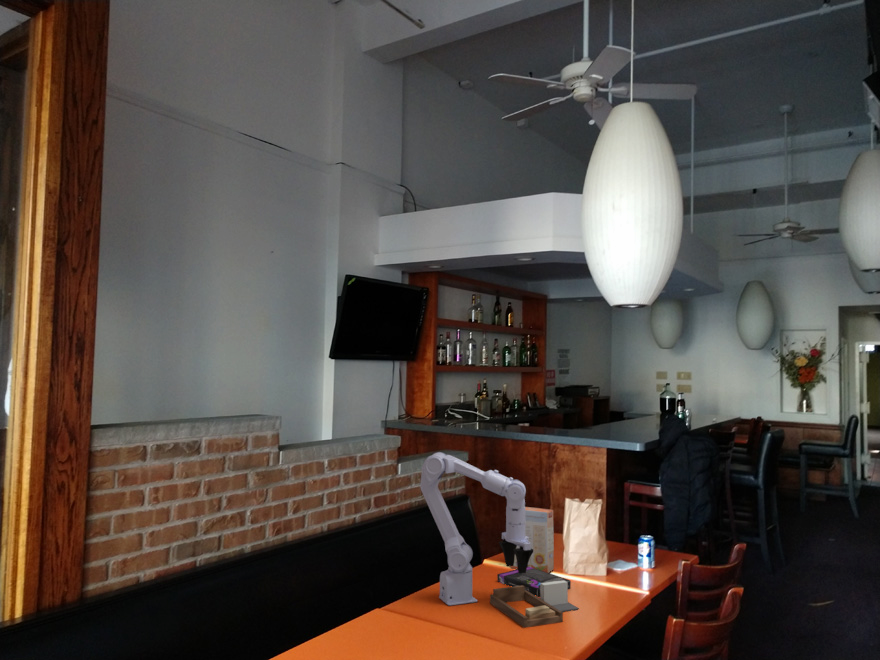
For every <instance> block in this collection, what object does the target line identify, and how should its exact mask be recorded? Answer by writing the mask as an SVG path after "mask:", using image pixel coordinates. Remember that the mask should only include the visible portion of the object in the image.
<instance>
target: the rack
mask: <svg viewBox="0 0 880 660" xmlns="http://www.w3.org/2000/svg"><path fill="white" fill-rule="evenodd" d="M492 590H493V593H492V594H489V603H490V604H491V605H492V606H493V607H495V608H496V609H498V610H499V612H502V614H504V615H506V616H507V617H508V618H510V619H511V620H513V621H514V622H515V623H516V624H518V625H520V626H521V627H522V628H529V627H537V626H544V625H545V626H546V625H551V624H557V623H562V622H564V621H563V620H564V616H563V615H564V614H563V613H564V612H561V611H560V610H558V609H556V608H555V607H553V606H551V605H550V604H548V603H546V602H545V601H543V600H541V599H540V598H541V597H538V596H535V595H533V594H532V593H530V592H528V591H527V590H525V586H523V585H522V586H514V587H510V586H508V587H500V588H499V587H498V588H493V589H492ZM519 601H525V602H527V603H529V604H530V605H532V606H533V607H538V606H544V605H545V606H547V607H549V609H551V610H553V611H555V616H550V617H543V618H537V619H530V620H527V617H526V616H525V615H524V614H523V613H521V612H520V611H519V610H517V609H516V608H514V607H512V605H510V604H508V603H511V602H519Z"/></svg>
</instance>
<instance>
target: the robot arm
mask: <svg viewBox="0 0 880 660" xmlns="http://www.w3.org/2000/svg"><path fill="white" fill-rule="evenodd" d="M420 469H421V476H420V484H419V487H420V491H421V494H422V495H423V497H424V501H425V502H426V504H427V506H428V509H429V510H430V513H431V515H432V517H433V519H434V522H435V524H436V526H437V529H438V530H439V533H440V535H441V537H442V540H443V542H444V547H445V552H446V555H447V565H448V567H447V568H448V569H447V570H444V571H441V572H440V575H439V596H438V598H439V599H440V600H441V601H442V602H443V603H445V604H446V605H447V606H457V605H464V604H472V603H477V602H478V599H476V598H475V597H473V566H472V565H471V563H470V562H471V561H472V559H473V557H474V556H473V554H474V552H473V549H472V547H471V546H470V545H469V544H467V543H466V541H465V539H464V537H463V536H462V535H461V534H460V532H459V530H458V528H457V525H456V523H455V522H454V520H453V517H452V515H451V512H450V510H449V508H448V506H447V504H446V502H445V500H444V497H443V495H442V493H441V491H440V489H439V484H440V481H441V479H442V477H443V475H444V474H452V473H458V474H460V475H462V476H466V477H468V478H470V479H472V480H475V481H478V482H480V483H481V486H482V488H484V489H485V490H488V491H490V492H492V493H494V494H495V495H496V494H497V495H499V496H501V497H505V499H506V507H505V510H506V511H505V516H506V518H505V521H506V522H505V531H504V532H501V539H502V541H499V542H498V544H499V547H500V548H501V551H502V553H503V558H504V561H505V565H506V567H511V566H513V565H514V559H515V555H516V559H517V567H518V572H519V573H520V574H521V573H526V570H527V566H528V562H529V559H530V557H531V555H532V553H533V549H531V543H530V542H528V540H529V537H527V536H526V533H525V523H526V522H525V507H526V502H525V501H526V500H525V499H526V498H525V497H526V493H527V490H526V485H525V484H524V483H523V482H522V481H520V480H519V479H514V478H513V477H511V476H510V477H507V476H505V475H503V474H501V473H499V472H500V471H499V470H497V469H494V470H492V469H489V470H487V471H484V470H481V469H480V468H479V467H476V466H474V465H471V464H470V463H467V462H466V461H464V460H461V459H460V458H457V457H456V456H453V455H450V454H446V453H444V452H441V451H438V452H434V453H433V454H432V455H429V456H427V457H426V459H425V460H424V462H423V463H422V466H421V468H420ZM517 546H519V547H520V548H516V547H517Z"/></svg>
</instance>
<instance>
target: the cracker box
mask: <svg viewBox="0 0 880 660" xmlns="http://www.w3.org/2000/svg"><path fill="white" fill-rule="evenodd" d="M525 522H526V523H525V533H526V536H527V537H529V540H528V542H530V543H531V549H533V553H532V555H531V557H530V559H529V562H528V567H532V568H535V569H538V570H541V571H544V572H547V573H549V572H550V571H552V570H553V569H554V570H555V560H554V559H555V553H554V551H555V550H554V548H555V546H554V545H555V544H554V543H555V542H554V537H555V536H554V534H555V533H554V531H555V530H554V510H553V509H548V508H540V507H529V506H525ZM516 548H520V547H519V546H517V547H516ZM510 568H511V569H514V570H516V569H518V567H517V559H516V555H515V559H514V565H513V566H510ZM554 570H553V571H554ZM553 571H552V572H553ZM550 573H551V572H550Z"/></svg>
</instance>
